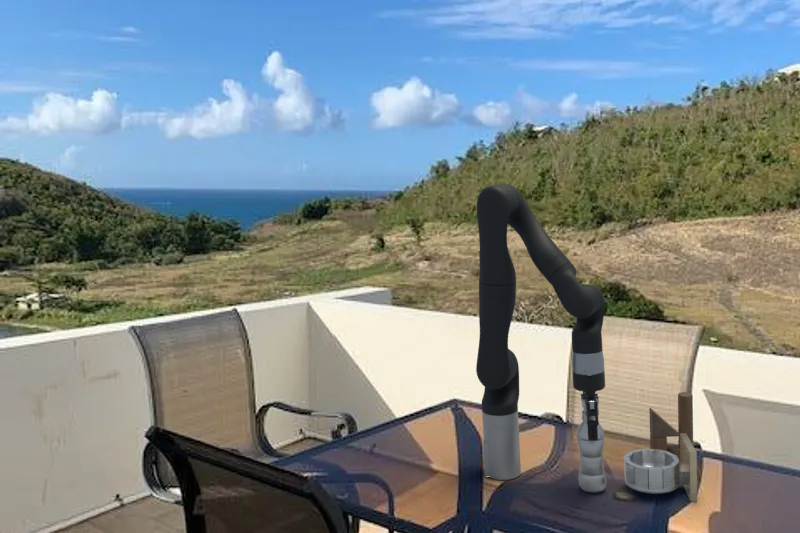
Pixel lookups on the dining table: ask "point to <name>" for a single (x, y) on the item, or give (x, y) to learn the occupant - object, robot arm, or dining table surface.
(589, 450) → the plastic bottle
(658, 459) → the ring
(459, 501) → the dining table surface
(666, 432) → the wooden wedge with rod
